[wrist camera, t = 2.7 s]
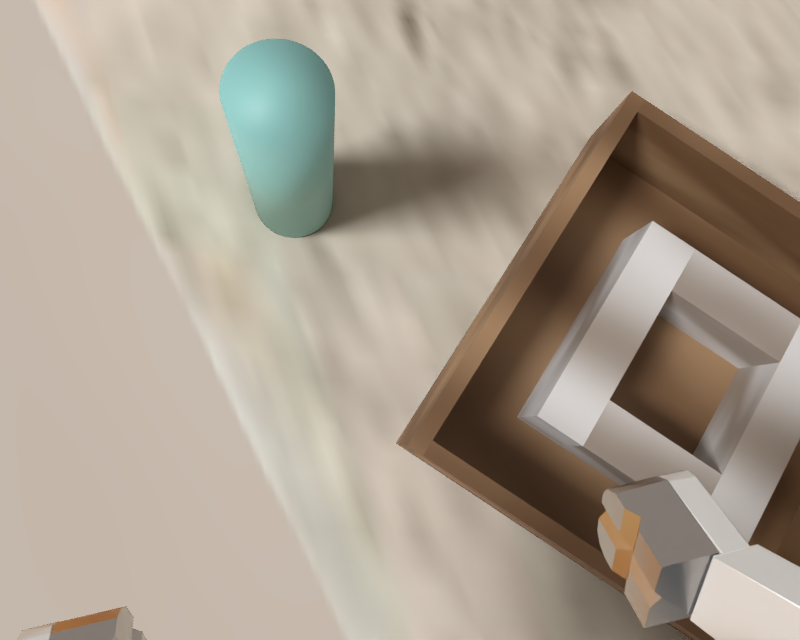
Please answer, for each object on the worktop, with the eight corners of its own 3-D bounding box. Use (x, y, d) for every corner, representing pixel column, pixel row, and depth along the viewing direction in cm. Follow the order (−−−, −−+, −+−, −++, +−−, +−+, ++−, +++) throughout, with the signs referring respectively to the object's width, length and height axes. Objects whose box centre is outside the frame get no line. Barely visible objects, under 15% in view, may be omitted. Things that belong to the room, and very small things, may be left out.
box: (591, 136, 29) (631, 91, 25) (890, 334, 29) (977, 320, 25) (396, 443, 26) (408, 445, 22) (731, 665, 26) (802, 707, 22)
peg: (284, 149, 28) (263, 18, 19) (347, 191, 28) (356, 80, 19) (239, 209, 27) (196, 102, 18) (304, 252, 27) (292, 166, 18)
